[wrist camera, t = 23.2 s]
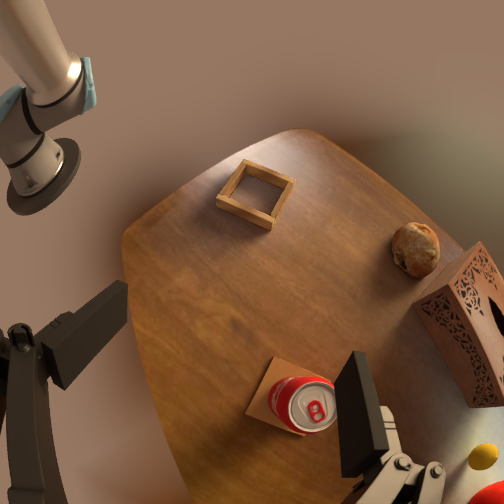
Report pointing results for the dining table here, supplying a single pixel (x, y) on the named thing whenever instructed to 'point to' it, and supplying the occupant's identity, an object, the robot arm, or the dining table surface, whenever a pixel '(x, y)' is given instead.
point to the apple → (490, 494)
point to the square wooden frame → (246, 211)
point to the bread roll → (416, 249)
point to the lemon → (483, 456)
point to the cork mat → (260, 400)
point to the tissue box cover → (469, 324)
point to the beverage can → (304, 403)
